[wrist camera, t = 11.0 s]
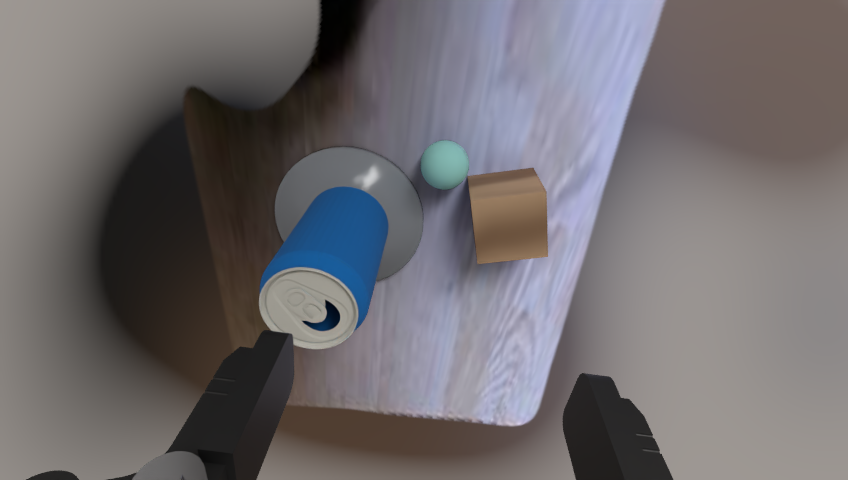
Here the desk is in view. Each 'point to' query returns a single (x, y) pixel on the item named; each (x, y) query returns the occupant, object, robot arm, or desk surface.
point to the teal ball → (444, 164)
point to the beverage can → (326, 269)
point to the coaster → (363, 174)
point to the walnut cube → (508, 215)
